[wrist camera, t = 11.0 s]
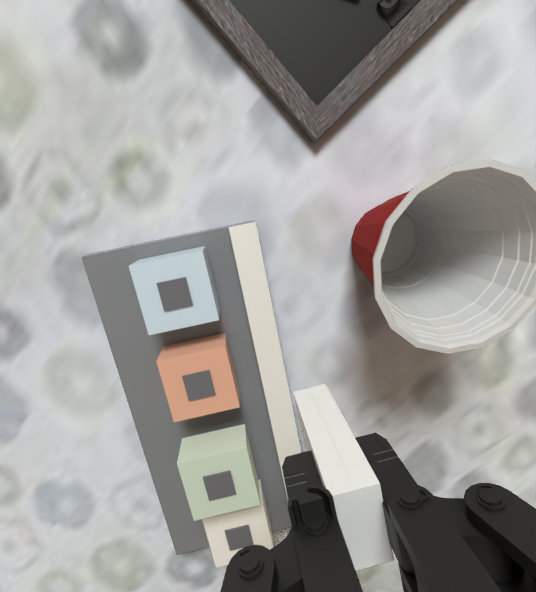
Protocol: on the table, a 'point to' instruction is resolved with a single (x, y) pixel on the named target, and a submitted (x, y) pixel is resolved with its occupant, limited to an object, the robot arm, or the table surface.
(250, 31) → the picture frame
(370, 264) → the plastic cup
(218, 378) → the key terracotta
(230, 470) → the key sage
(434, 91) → the table surface
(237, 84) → the table surface
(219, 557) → the key ivory
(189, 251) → the key blue
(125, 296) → the keypad base
